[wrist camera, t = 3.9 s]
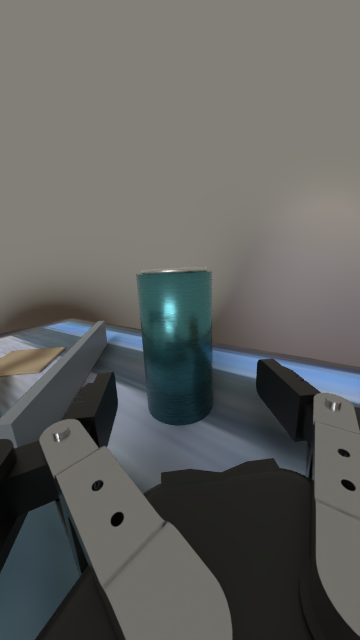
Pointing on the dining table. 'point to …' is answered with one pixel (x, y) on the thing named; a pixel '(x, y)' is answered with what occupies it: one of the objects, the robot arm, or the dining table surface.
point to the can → (177, 342)
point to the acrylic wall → (53, 390)
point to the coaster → (27, 361)
